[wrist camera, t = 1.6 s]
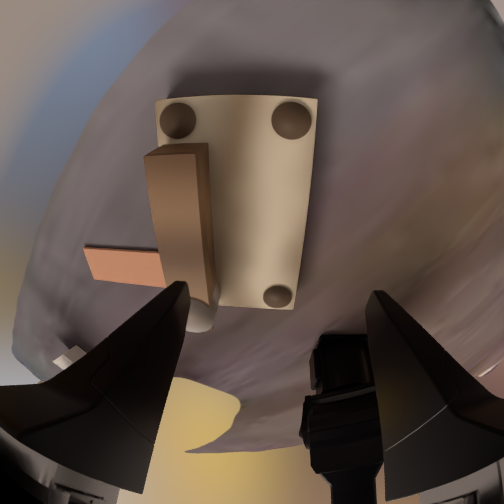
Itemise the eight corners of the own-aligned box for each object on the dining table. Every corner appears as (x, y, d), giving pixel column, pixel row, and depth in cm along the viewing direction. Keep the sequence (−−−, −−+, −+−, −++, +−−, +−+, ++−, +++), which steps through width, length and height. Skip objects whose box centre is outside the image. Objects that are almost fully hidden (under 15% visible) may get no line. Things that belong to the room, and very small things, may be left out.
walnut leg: (222, 306, 23) (215, 334, 21) (182, 302, 24) (173, 329, 21) (212, 142, 16) (199, 154, 13) (158, 144, 16) (137, 157, 13)
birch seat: (312, 98, 15) (318, 99, 14) (292, 294, 25) (293, 311, 23) (166, 98, 16) (154, 100, 14) (187, 287, 26) (181, 303, 24)
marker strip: (176, 252, 23) (175, 254, 23) (182, 286, 26) (181, 288, 25) (84, 247, 24) (83, 248, 24) (95, 277, 26) (94, 279, 26)
